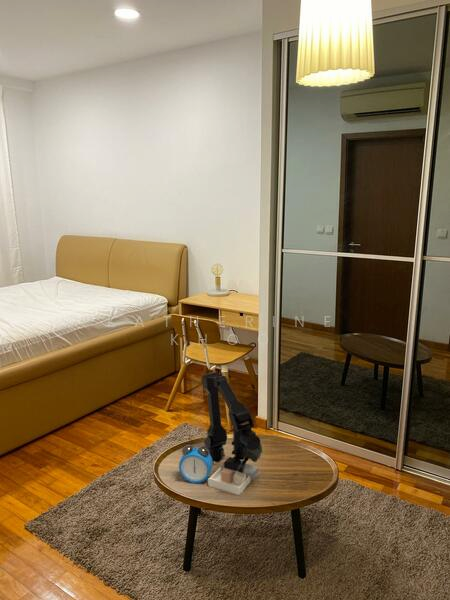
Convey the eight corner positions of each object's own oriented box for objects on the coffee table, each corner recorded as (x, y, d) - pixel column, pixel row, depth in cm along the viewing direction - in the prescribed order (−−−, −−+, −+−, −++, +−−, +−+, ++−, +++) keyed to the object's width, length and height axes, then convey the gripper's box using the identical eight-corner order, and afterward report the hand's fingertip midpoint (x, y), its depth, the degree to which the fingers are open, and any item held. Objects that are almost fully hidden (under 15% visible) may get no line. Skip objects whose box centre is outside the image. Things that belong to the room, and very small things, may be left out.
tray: (208, 486, 185) (208, 478, 185) (220, 473, 194) (220, 466, 193) (239, 495, 179) (239, 487, 178) (250, 482, 187) (250, 474, 187)
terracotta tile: (224, 477, 190) (221, 480, 188) (224, 468, 189) (221, 471, 187) (233, 480, 188) (230, 483, 186) (232, 471, 187) (230, 474, 185)
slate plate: (220, 473, 194) (220, 468, 193) (229, 464, 201) (229, 458, 200) (250, 482, 187) (250, 476, 187) (258, 472, 194) (258, 466, 194)
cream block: (237, 479, 188) (234, 483, 186) (236, 471, 186) (233, 475, 184) (246, 481, 186) (244, 486, 184) (245, 473, 184) (243, 478, 182)
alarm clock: (179, 482, 188) (177, 448, 185) (183, 473, 194) (181, 441, 191) (210, 485, 186) (209, 451, 183) (213, 476, 192) (212, 443, 189)
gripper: (248, 454, 171) (249, 491, 175) (268, 432, 188) (268, 467, 191) (222, 448, 177) (223, 484, 180) (243, 427, 193) (244, 460, 196)
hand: (241, 474), depth 186 cm, fingers closed
